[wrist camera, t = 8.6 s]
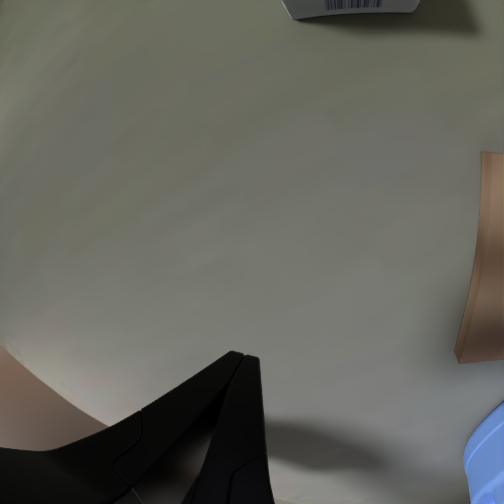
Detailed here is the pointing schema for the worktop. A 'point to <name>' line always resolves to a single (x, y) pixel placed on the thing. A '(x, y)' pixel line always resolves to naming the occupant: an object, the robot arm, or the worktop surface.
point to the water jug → (486, 460)
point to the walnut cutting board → (486, 272)
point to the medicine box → (345, 7)
